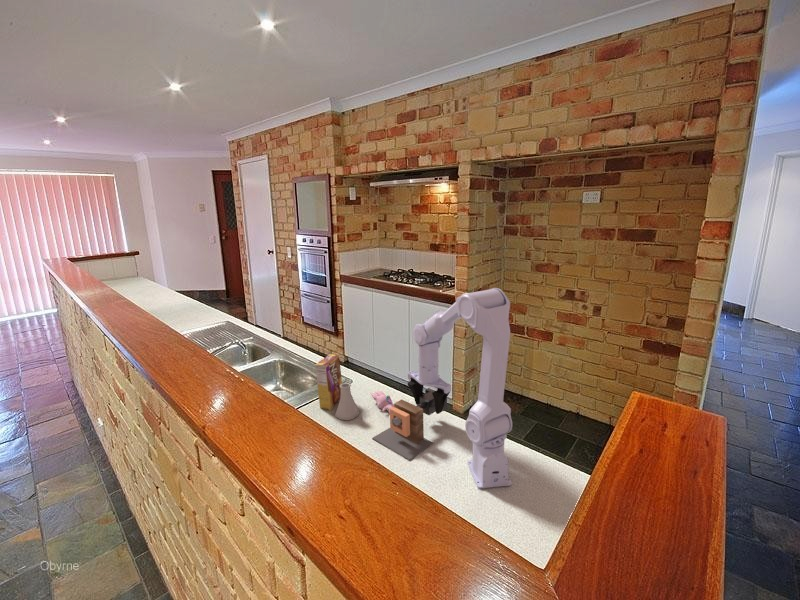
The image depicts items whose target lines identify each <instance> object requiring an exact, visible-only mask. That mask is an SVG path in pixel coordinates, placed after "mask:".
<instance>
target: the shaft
mask: <svg viewBox="0 0 800 600" xmlns="http://www.w3.org/2000/svg"><path fill="white" fill-rule="evenodd" d="M435 391H436V390H434V389H432V388H429V387H428V388H426V389H425V392H424V393H423V396H421V397H420V404H419V405H416V406H417V407H420V408H422V409H423V414H425V415H427V416H431V415H432V414H434V413H436V411H435V400H434V397H433V395H432V393H433V392H435ZM447 410H448V397H447V398H446V400H445V403H444V406H443V410H442V412H445V411H447ZM401 423H402V419H400V418H398V417H396V418H394V419H392V424H393V425H394V426H397V425H399V424H401Z"/></svg>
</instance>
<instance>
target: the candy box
mask: <svg viewBox="0 0 800 600" xmlns="http://www.w3.org/2000/svg"><path fill="white" fill-rule="evenodd" d="M315 373H316V376H315V377H316V383H317V385H316V386H317V392H318V393H317V394H318V400H319V403H318V404H319V408H320V409H325V410H332V409H333V408H334V407H335V406H336V405H337V404H339V403H338V402H339V401H340V398H341V388H340V385H341V384H343V380H342V371H341V362H340V355H339V354H328V355H326V356H325V357H324V358H322V359H321V360H319V361H318V362H317V363H315Z"/></svg>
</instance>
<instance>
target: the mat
mask: <svg viewBox="0 0 800 600" xmlns="http://www.w3.org/2000/svg"><path fill="white" fill-rule="evenodd" d="M371 439H372V440H373V441H375V442H377V443H378V444H380V445H381V446H384V447H385V448H387V449H388V450H390V451H392V452H394V453H395V454H397V455H398V456H400V457H402V458H403V459H405V460H407V461H411V460H412V459H414V458H416V457H417V456H418V455H420V454H421V453H423V452H424V451H425V450H427V449H428V448H430V447H431V446H433V445H434V442H433V441H431V440H429V439H427V438H425V437H424V439H423V440H422V441H420V442H419V443H417V444H415V443H413V442H412V441H410V440H408V439H406V438H404V437H402V436H401V435H399V434H397V433H395V431H394V430H392V429H390V427H388V428H386V429H385V430H384V431H382V432H379V433H377V434H376V435H375V436H373V437H372V438H371Z"/></svg>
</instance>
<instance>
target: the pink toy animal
mask: <svg viewBox="0 0 800 600" xmlns="http://www.w3.org/2000/svg"><path fill="white" fill-rule="evenodd" d="M370 396H371V397H372V399H373V400H374V401H375V402H376V404H377V405H376V406H377V407H378V408H379V409H382V412H383V413H384V412H385V410H387V411H388V414H389V415H390V408H392V407H394V403H393V401H392V399H391V395H389V394H387V395H386V394H385V393H384V392H383V391H381V390H377V391H374V392H371V393H370Z"/></svg>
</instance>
